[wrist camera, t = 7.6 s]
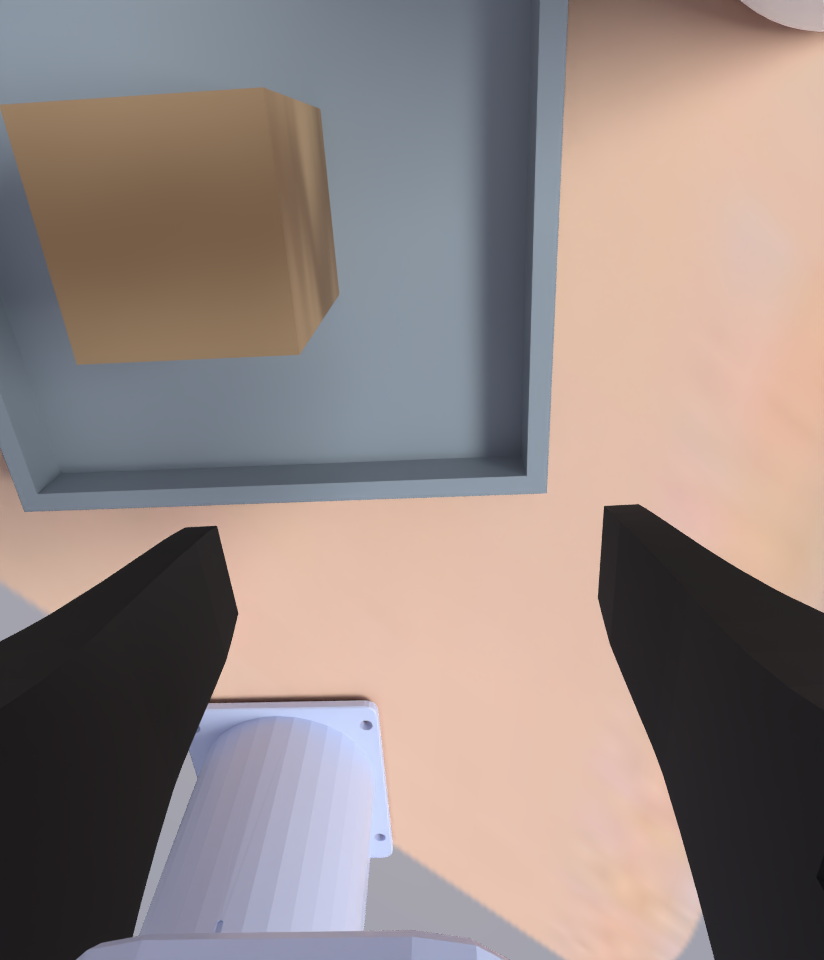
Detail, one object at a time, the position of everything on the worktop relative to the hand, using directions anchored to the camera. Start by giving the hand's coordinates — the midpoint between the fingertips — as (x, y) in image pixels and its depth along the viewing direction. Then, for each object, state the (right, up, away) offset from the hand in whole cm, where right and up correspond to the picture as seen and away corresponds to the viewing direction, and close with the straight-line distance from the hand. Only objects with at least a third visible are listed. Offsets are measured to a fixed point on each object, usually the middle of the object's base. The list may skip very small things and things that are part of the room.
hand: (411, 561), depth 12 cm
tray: (-4, +9, +6) cm, 11 cm away
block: (-4, +9, +5) cm, 11 cm away
